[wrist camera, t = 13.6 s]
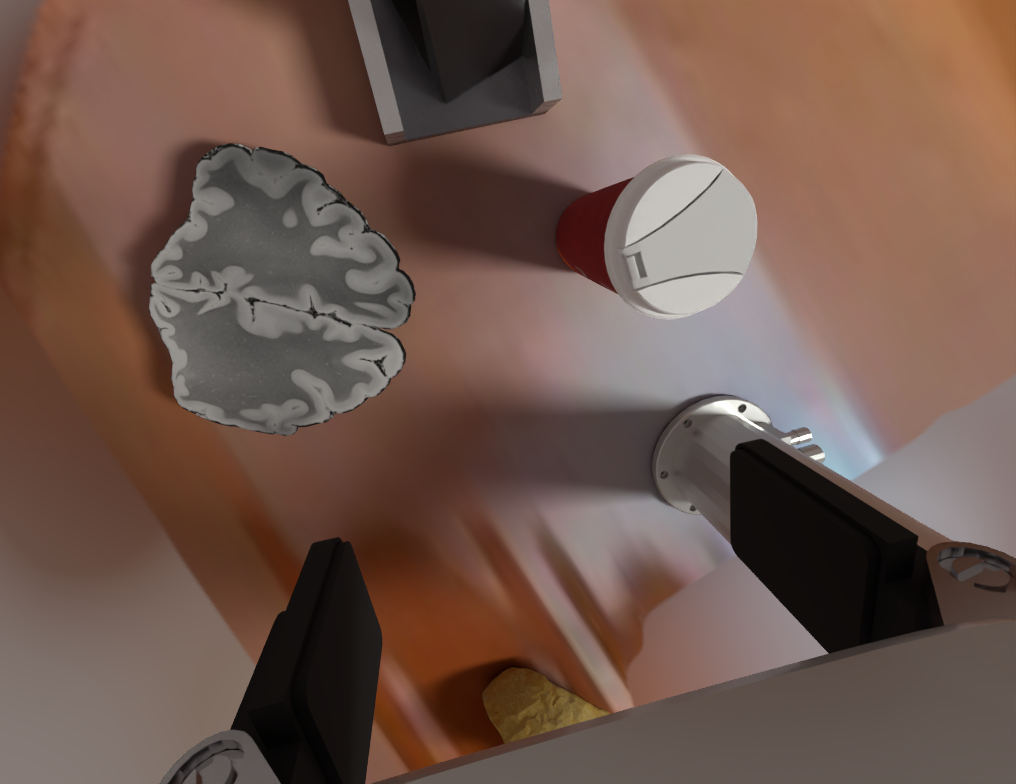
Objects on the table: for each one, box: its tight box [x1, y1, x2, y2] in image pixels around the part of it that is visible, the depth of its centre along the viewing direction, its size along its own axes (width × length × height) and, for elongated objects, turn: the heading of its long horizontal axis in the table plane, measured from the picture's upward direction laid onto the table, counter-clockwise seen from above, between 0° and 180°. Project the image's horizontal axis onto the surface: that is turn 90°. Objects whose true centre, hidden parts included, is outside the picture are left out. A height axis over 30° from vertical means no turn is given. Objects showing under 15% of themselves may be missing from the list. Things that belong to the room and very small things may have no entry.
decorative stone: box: [482, 667, 610, 744], centre depth 50 cm, size 13×15×15 cm
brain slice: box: [149, 143, 416, 436], centre depth 34 cm, size 20×17×3 cm
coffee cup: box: [556, 154, 757, 319], centre depth 30 cm, size 8×8×15 cm
